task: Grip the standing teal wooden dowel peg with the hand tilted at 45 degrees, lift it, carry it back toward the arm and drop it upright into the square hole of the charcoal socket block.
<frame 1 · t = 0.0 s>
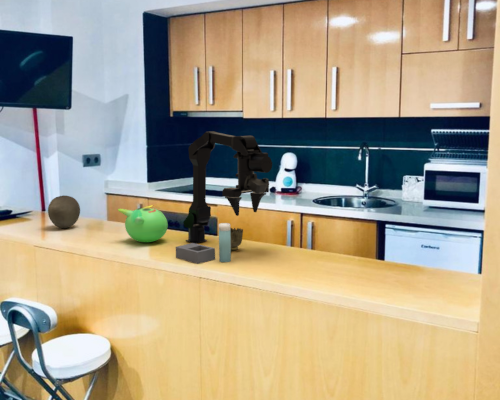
hand: (246, 213, 194), 15 cm above the countertop, fingers open, 9 cm apart
socket: (199, 259, 188), on the countertop
peg: (225, 260, 186), on the countertop
cup: (233, 250, 201), on the countertop
toy bird: (145, 242, 216), on the countertop
cantaloupe: (65, 228, 244), on the countertop
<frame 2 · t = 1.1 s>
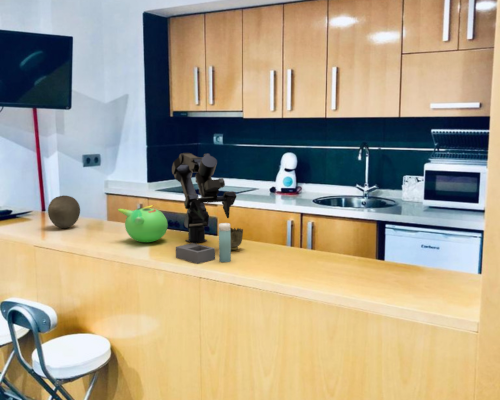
hand: (216, 218, 191), 13 cm above the countertop, fingers open, 9 cm apart
nothing on the countertop moved.
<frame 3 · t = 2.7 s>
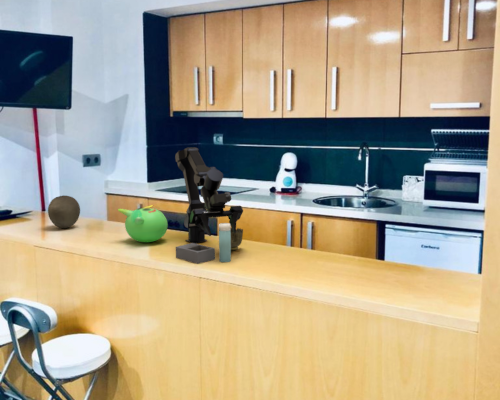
hand: (222, 234, 186), 9 cm above the countertop, fingers open, 9 cm apart
nothing on the countertop moved.
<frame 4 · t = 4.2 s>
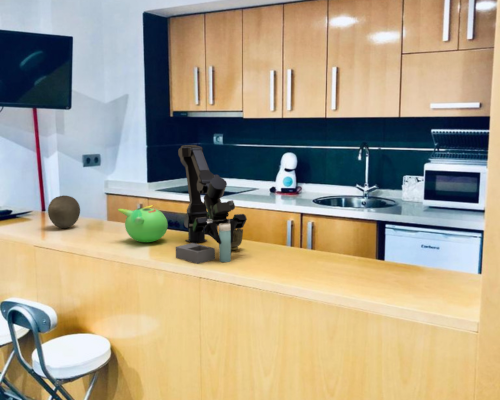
hand: (226, 243, 184), 7 cm above the countertop, fingers closed on peg, 4 cm apart
peg: (225, 260, 186), on the countertop, touching gripper
everything else where it was.
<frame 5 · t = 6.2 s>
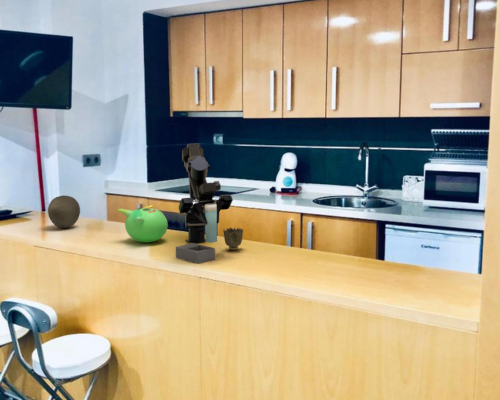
hand: (212, 223, 184), 13 cm above the countertop, fingers closed on peg, 4 cm apart
peg: (211, 241, 186), point 7 cm above the countertop, touching gripper
everything else where it was.
when the fingers open (9 cm above the countertop, at t = 8.0 s): peg drops 2 cm, resting in socket.
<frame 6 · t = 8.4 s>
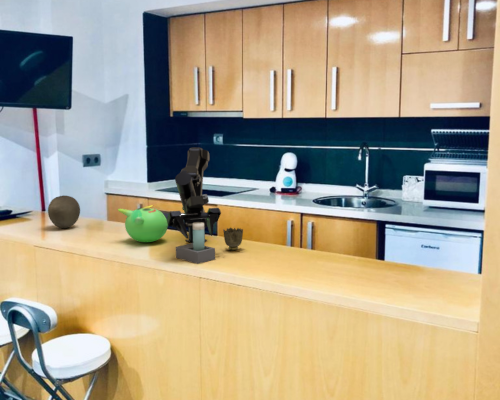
hand: (199, 236, 185), 9 cm above the countertop, fingers open, 9 cm apart
peg: (199, 259, 188), resting in socket
everything else where it was.
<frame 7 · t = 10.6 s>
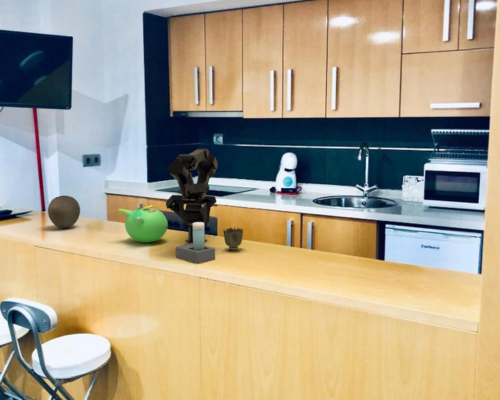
hand: (197, 222, 192), 12 cm above the countertop, fingers open, 9 cm apart
nothing on the countertop moved.
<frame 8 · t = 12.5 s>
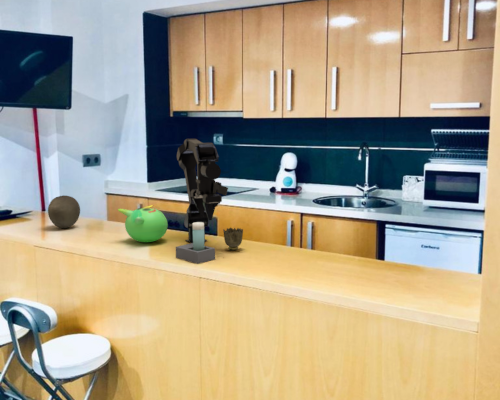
hand: (206, 218, 200), 12 cm above the countertop, fingers open, 9 cm apart
nothing on the countertop moved.
at the end: peg 0.0 cm off-centre on the socket, point 0.0 cm above the socket's base; peg tilted 1°; the gripper is holding nothing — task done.
